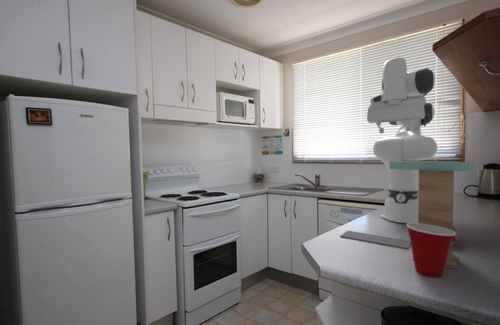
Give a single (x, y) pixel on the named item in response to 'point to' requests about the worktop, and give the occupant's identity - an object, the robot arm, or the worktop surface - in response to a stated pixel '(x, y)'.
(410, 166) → the block
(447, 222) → the stand
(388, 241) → the mat
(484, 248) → the worktop surface
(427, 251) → the plastic cup
